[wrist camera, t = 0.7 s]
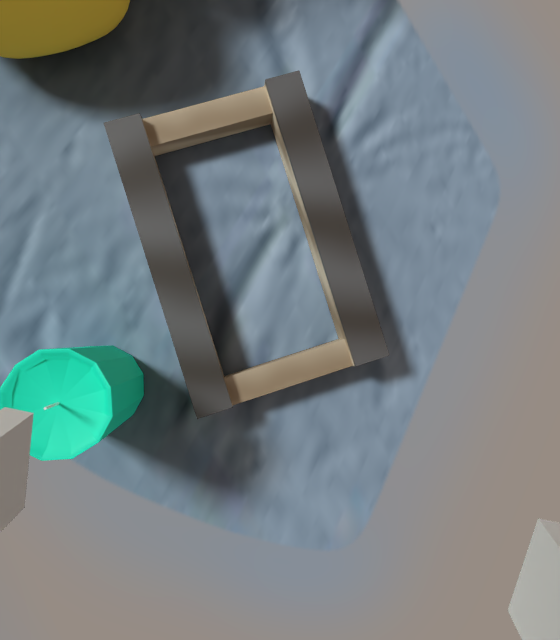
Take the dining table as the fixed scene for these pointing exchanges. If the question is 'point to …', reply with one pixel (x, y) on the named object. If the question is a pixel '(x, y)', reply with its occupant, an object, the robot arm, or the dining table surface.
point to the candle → (73, 396)
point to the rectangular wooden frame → (316, 215)
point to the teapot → (55, 25)
